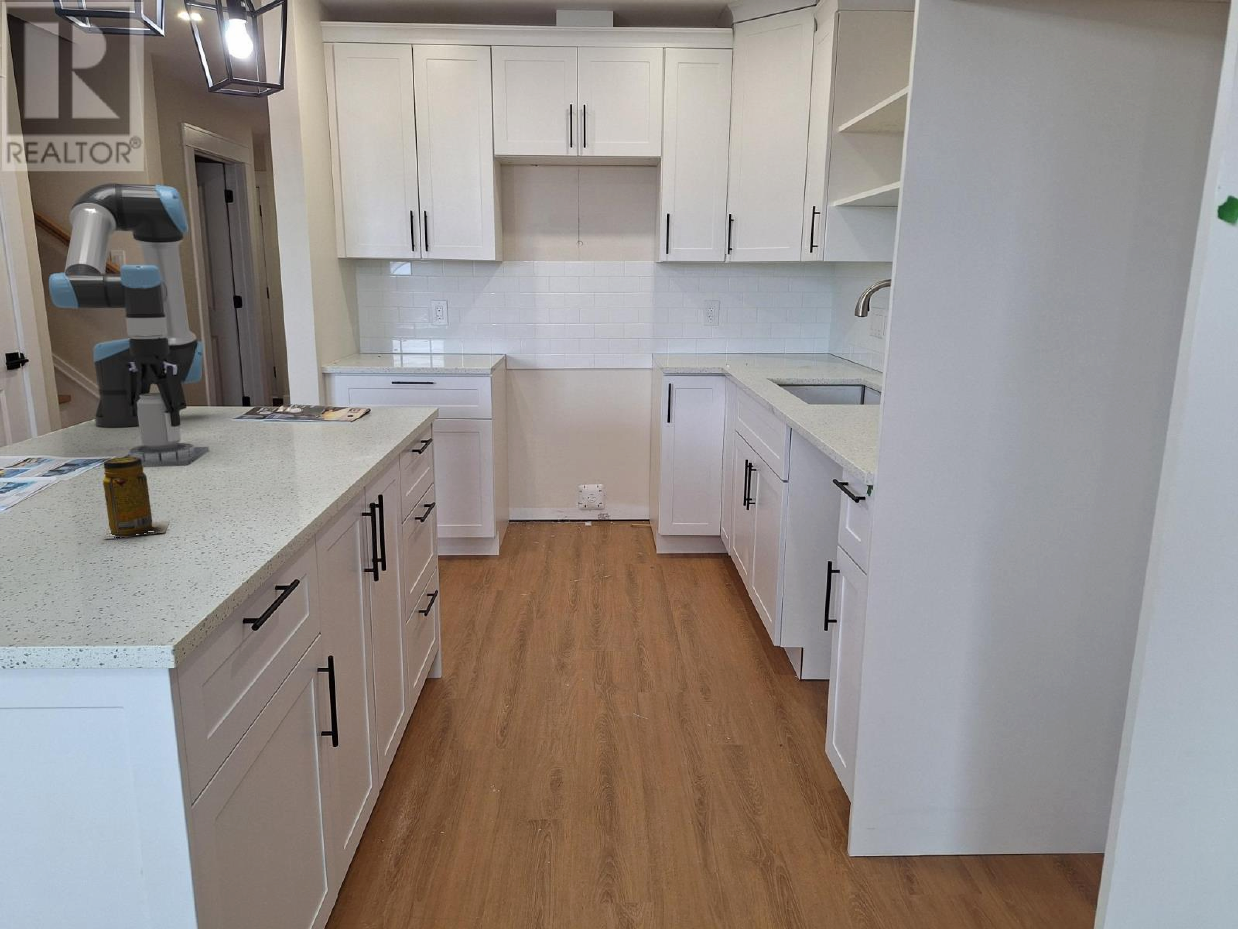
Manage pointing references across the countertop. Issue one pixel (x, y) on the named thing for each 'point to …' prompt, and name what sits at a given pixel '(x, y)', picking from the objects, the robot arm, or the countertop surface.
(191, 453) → the duct flange
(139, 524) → the condiment
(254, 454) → the countertop surface
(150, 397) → the can
